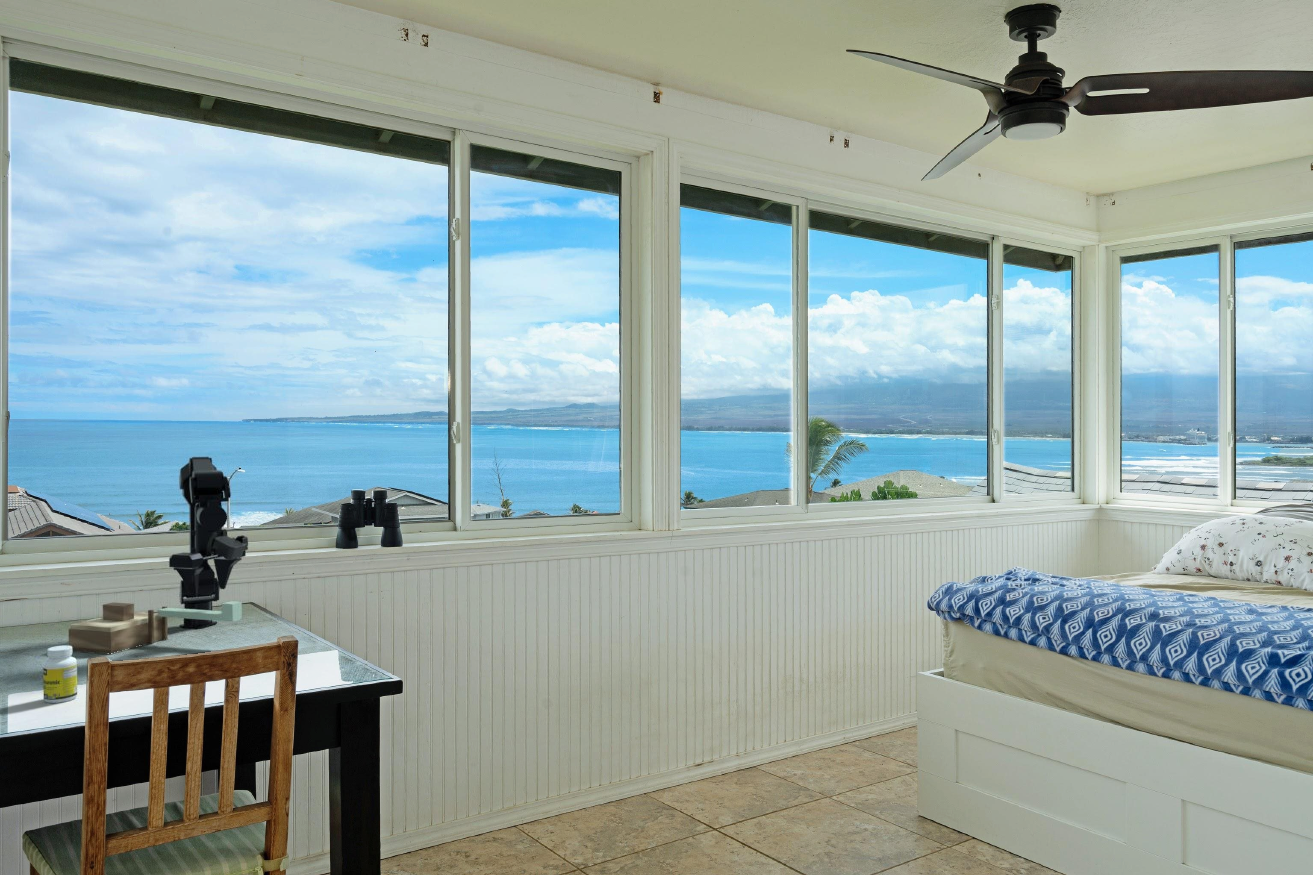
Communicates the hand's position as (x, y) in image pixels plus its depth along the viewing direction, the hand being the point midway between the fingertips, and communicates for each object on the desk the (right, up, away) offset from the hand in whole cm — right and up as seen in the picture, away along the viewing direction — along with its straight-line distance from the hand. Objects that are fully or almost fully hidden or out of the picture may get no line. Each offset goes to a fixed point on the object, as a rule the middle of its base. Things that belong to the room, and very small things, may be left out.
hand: (208, 592), depth 219 cm
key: (-3, -6, +2) cm, 7 cm away
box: (-22, -13, +2) cm, 26 cm away
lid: (-22, -8, +2) cm, 23 cm away
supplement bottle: (-8, -14, -41) cm, 44 cm away
